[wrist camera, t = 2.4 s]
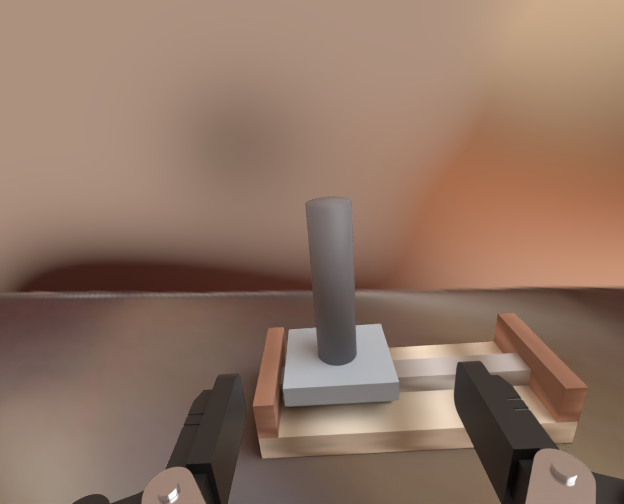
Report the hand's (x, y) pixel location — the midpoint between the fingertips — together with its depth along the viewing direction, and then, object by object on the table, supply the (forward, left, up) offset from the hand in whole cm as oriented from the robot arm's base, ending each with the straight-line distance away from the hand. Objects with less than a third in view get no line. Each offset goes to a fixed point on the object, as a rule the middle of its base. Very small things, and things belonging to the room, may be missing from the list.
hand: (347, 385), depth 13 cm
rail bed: (-5, -12, -13) cm, 19 cm away
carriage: (0, -12, -11) cm, 16 cm away
